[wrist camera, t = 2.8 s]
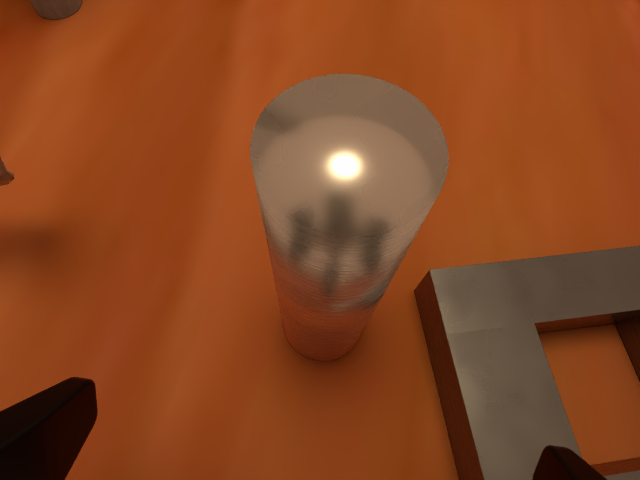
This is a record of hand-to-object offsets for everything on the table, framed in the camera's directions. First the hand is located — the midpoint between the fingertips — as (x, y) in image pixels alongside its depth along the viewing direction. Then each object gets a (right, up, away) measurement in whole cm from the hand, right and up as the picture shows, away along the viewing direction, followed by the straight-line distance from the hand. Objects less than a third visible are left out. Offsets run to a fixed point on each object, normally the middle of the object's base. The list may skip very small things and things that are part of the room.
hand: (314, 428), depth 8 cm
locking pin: (0, 0, +13) cm, 13 cm away
